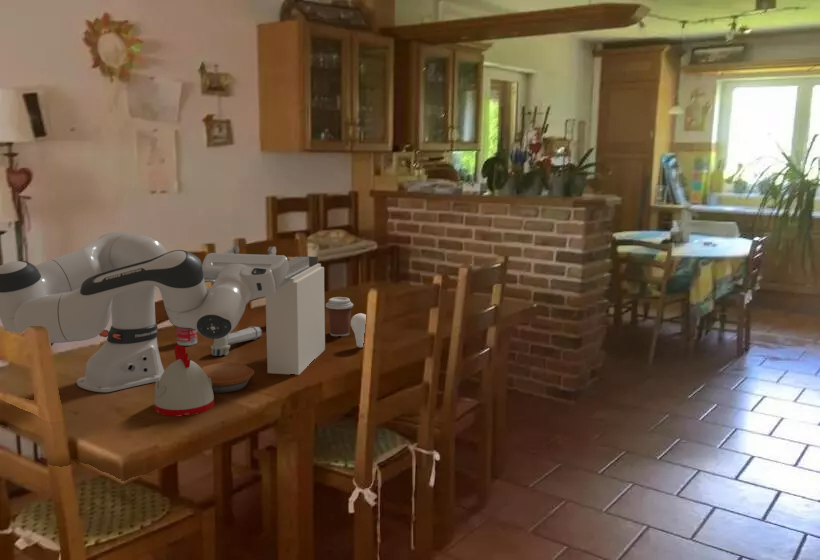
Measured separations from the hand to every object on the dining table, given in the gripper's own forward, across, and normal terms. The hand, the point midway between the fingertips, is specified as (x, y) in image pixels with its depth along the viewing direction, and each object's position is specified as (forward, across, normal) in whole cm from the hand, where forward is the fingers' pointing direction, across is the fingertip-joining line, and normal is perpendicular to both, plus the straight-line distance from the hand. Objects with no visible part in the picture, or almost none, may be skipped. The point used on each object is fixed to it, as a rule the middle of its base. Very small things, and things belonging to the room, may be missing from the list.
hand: (254, 248), depth 181 cm
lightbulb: (+25, +16, -55) cm, 63 cm away
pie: (-13, -11, -36) cm, 40 cm away
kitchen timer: (-27, -15, -29) cm, 42 cm away
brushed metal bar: (+14, +1, -20) cm, 25 cm away
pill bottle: (+20, -39, -53) cm, 69 cm away
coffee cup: (+38, +6, -62) cm, 73 cm away
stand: (+10, +1, -47) cm, 48 cm away
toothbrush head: (+20, -22, -53) cm, 61 cm away
